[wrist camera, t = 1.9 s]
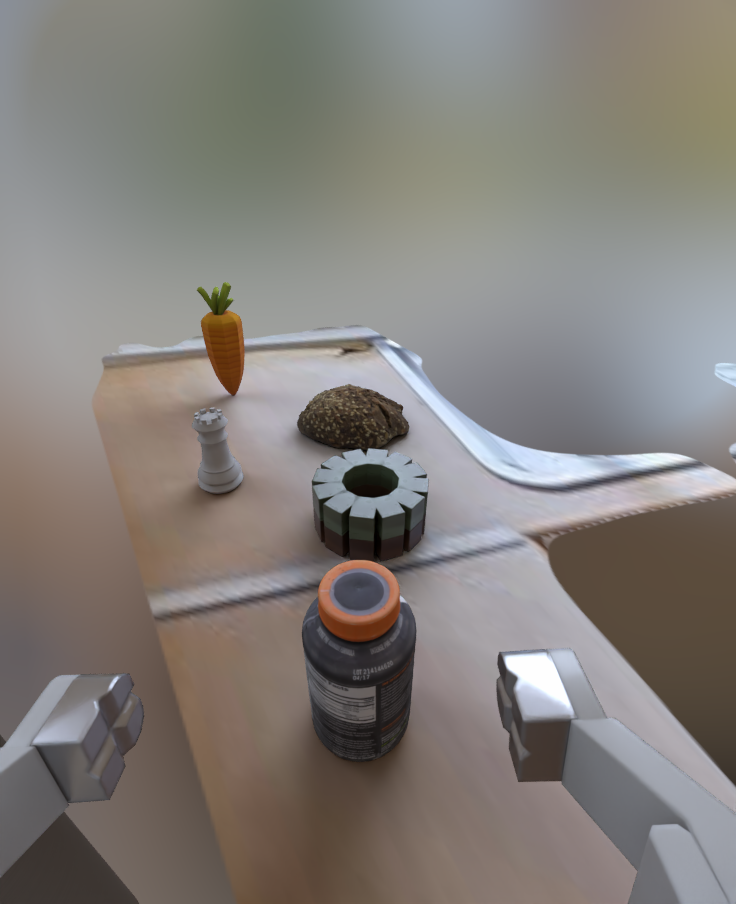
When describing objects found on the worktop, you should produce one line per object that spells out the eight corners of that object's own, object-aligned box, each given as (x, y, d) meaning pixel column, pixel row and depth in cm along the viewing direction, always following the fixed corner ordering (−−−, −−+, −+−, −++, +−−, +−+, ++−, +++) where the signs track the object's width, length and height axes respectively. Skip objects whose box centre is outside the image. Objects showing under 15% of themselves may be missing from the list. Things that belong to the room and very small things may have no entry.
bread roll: (284, 432, 57) (280, 395, 54) (342, 394, 65) (341, 360, 63) (374, 465, 51) (375, 426, 48) (425, 418, 60) (428, 382, 57)
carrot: (207, 398, 64) (184, 285, 56) (230, 384, 68) (213, 276, 60) (236, 406, 62) (217, 289, 54) (259, 391, 66) (244, 280, 58)
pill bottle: (379, 652, 32) (383, 529, 26) (428, 732, 28) (447, 608, 22) (297, 692, 30) (280, 567, 24) (336, 786, 26) (328, 663, 19)
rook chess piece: (194, 477, 49) (178, 409, 45) (236, 465, 51) (224, 398, 46) (205, 501, 46) (189, 430, 41) (250, 487, 48) (238, 418, 43)
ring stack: (335, 575, 38) (333, 531, 35) (303, 501, 46) (299, 461, 43) (444, 543, 41) (449, 500, 39) (396, 479, 49) (398, 440, 46)
